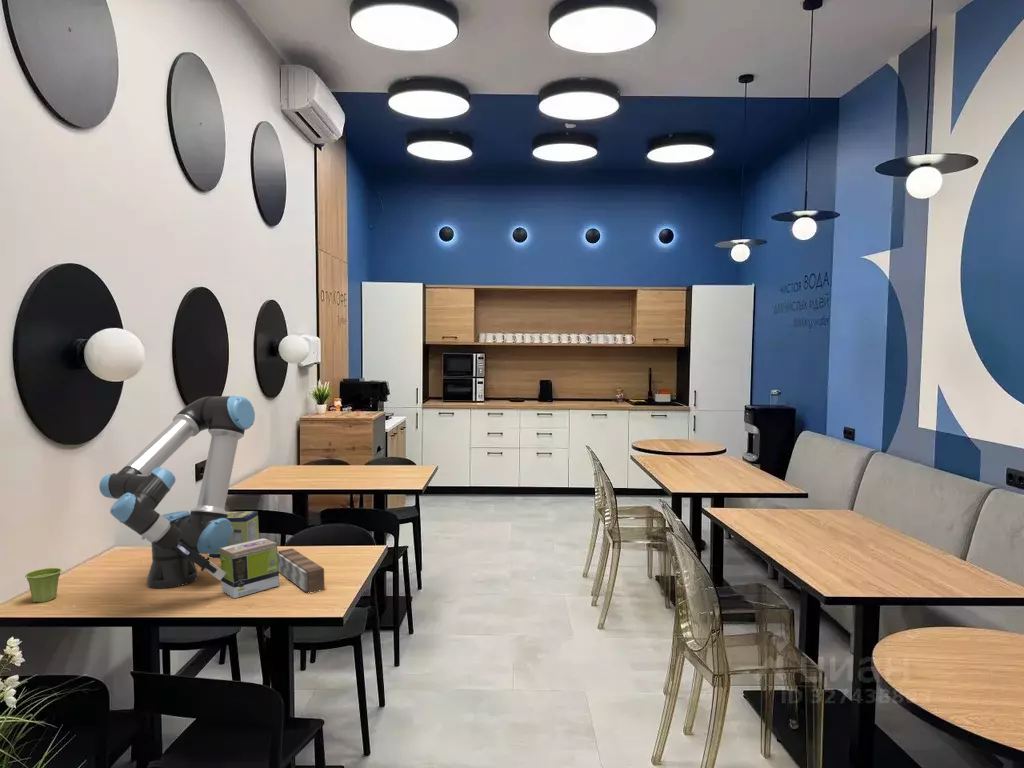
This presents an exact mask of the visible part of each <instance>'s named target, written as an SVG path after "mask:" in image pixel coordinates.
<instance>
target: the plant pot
mask: <svg viewBox="0 0 1024 768" xmlns="http://www.w3.org/2000/svg"><path fill="white" fill-rule="evenodd" d="M62 571H63V569H62V568H59V567H48V568H41V569H36V570H33V571H30V572H27V573H26V574H25V575H24V578H26V581H27V583H28V586H29V591H30V595H31V600H32V602H33V603H44V602H45V603H46V602H49V601H52V600H53V599H56V598H57V593H58V586H59V580H60V579H59V577H60V576H61V573H62Z"/></svg>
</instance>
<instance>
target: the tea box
mask: <svg viewBox="0 0 1024 768" xmlns="http://www.w3.org/2000/svg"><path fill="white" fill-rule="evenodd" d="M278 551H279V550H278V542H275V541H273V540H270V539H266V538H265V537H262V538H259V539H257V540H253V541H248V542H244V543H239V544H235V545H231V546H226V547H222V548H220V559H219V560H220V561H219V562H220V569H221V570H223V571H224V572H225V573H226V574H225V576H224V577H223V578H222V579H221V580H220V581H221V590H222V592H223V593H224V592H225V593H224V594H226V593H227V594H226V595H228V596H229V595H230V596H229V597H231V598H233V599H237V598H239V597H240V598H241V597H243V596H248V595H252V594H255V593H258V592H262V591H264V590H265V591H266V590H269V589H272V588H276V587H279V586H280V572H279V568H278Z"/></svg>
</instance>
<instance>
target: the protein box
mask: <svg viewBox="0 0 1024 768" xmlns="http://www.w3.org/2000/svg"><path fill="white" fill-rule="evenodd" d="M226 512H227V513H228V517H227V519H228V520H229V521H230V522H231V524H232V525H231V526H232V528H233V532H232V536H231V539H230V541H229V543H228V545H227V546H231V545H235V544H239V543H244V542H248V541H253V540H257V539H260V534H259V533H260V531H259V530H260V529H259V512H258V511H255V510H253V511H252V510H251V511H250V510H249V511H226ZM208 557H212V558H214V559H215V558H217V559H219V558H220V552H218V553H215V554H209V556H208Z"/></svg>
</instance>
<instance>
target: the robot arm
mask: <svg viewBox="0 0 1024 768" xmlns="http://www.w3.org/2000/svg"><path fill="white" fill-rule="evenodd" d="M255 413H256V412H255V409H254V406H253V404H252V403H251V401H250V400H249V399H248V398H247V397H245V396H236V395H226V396H223V395H222V396H219V395H218V396H217V395H216V396H215V395H214V396H213V395H212V396H211V395H210V396H204V397H201V398H198V399H196V400H195V401H193V402H191V403H189V404H187V405H186V406H185V407H183V408H182V409H181V410H180V411H179V412H178V413H177V414H175V415H174V416H173V418H172V422H171V423H170V424H169V425H168V426H167V427H166V428H164V430H162V432H160V433H159V434H158V435H157V436H156V437H155V438H154V439H153V440H152V441H151V442H149V444H148V445H146V446H145V447H144V448H143V449H142V450H141V451H140V452H138V454H137V455H135V456H134V457H133V458H132V459H131V460H130V461H129V462H128V463H127V464H126V465H125V466H124V467H123V468H121V469H120V470H119V471H118V472H117V473H108V474H106V475H104V476H103V477H102V478H101V480H100V482H99V485H98V487H99V492H100V493H101V495H102V496H103V497H105V498H109V499H114V500H116V501H115V502H114V503H113V505H112V506H111V507H110V510H109V513H110V514H111V515H112V516H113V517H114V518H115V519H116V520H117V521H118V522H119V523H120V524H121V523H122V524H124V526H126V527H128V528H130V529H131V530H132V531H134V532H135V533H137V534H138V535H140V536H141V538H140V539H141V540H142V541H144V540H145V539H146V541H148V542H150V543H151V556H152V558H151V559H152V562H151V564H150V568H149V572H148V575H147V577H146V585H148V586H149V587H148V586H147V587H148V588H151V587H152V589H167V588H166V587H170V588H174V587H173V586H176V587H179V586H178V585H181V586H183V585H182V584H185V585H187V584H186V583H188V584H190V583H192V582H194V581H196V580H197V579H198V570H197V569H198V568H197V566H198V567H200V571H201V572H204V571H206V572H207V573H209V574H210V575H211V576H213V577H214V578H216V579H217V580H218V581H222V580H221V579H222V578H223V577H224V576H225V574H226V573H225V572H224V571H223V570H221V567H218V566H217V565H216V564H214V563H213V562H212V561H210V559H211V558H209V556H208V557H207V558H206V557H205V556H204V555H208V554H215V553H218V552H220V548H222V547H226V546H227V545H228V543H229V541H230V539H231V536H232V532H233V528H232V526H231V525H232V524H231V522H230V521H229V520H228V519H227V517H228V513H227V512H228V511H226V510H225V508H226V502H227V497H228V493H229V488H230V484H231V477H232V472H233V468H234V467H233V466H234V462H235V457H236V453H237V447H238V442H239V440H241V439H242V438H243V437H244V436H245V430H248V429H250V428H251V427H252V426H253V425H254V423H255V420H256V419H255V415H256V414H255ZM204 430H207V431H208V434H209V435H210V436H211V439H210V443H209V449H208V453H207V457H206V461H205V466H204V473H203V476H202V481H201V486H200V490H199V494H198V500H197V504H196V506H195V507H194V508H192V509H191V510H190V511H188V510H181V511H174V512H169V513H164V514H160V513H158V512H157V510H156V508H157V507H158V506H159V504H160V503H161V502H162V501H163V499H164V498H165V497H166V495H167V494H168V493H169V492H170V491H171V489H172V488H173V486H174V484H175V483H176V476H175V475H174V473H173V472H172V471H170V470H169V469H167V468H165V467H162V465H163V464H164V463H166V461H167V460H168V459H169V458H171V457H172V455H174V454H175V452H176V451H178V449H180V447H182V446H183V445H184V444H185V442H187V441H188V440H189V439H190V438H191V437H195V436H197V435H198V434H199V433H200V432H202V431H204ZM195 564H196V565H195ZM196 578H197V579H196ZM195 579H196V580H195ZM193 580H194V581H193ZM191 581H192V582H191ZM189 582H190V583H189Z"/></svg>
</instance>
